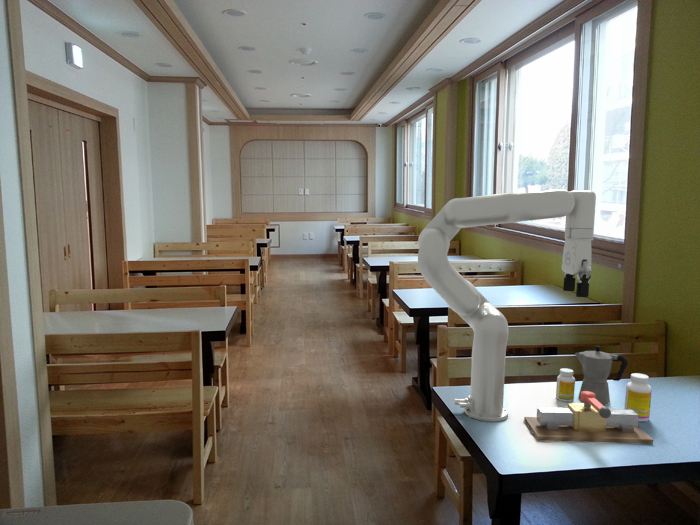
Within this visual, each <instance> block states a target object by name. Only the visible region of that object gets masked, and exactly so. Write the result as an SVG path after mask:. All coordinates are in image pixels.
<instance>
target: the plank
mask: <svg viewBox="0 0 700 525" xmlns="http://www.w3.org/2000/svg"><path fill="white" fill-rule="evenodd" d="M523 418H524V419H523V421H524V423H525V424H526V426H527V428H528V429H529V430H530V432H531V433H532V435H533V436H534V437H535V439H536V440H537V441H539V442H569V443H570V442H572V443H573V442H575V443H606V444H607V443H608V444H609V443H610V444H612V443H613V444H637V443H639V444H642V445H644V444H645V445H647V444H649V445H653V444H654V439H653V438H652V437H651V436H650V435H649V434H647V433H646V432H645V430H643V429H642V428H640V426H639V425H638V426H637V428H635V427H634V433H633V434H632V433H621V432H620V431H619V430H618V429H617V428H616V427H606V431H603V433H586V432H578V431H577V430H573V428H572V427H571V426H562V425H559V430H558V431H547V430H546V429H545V428H544V426H543V425H540V424H539V422H538V421H537V416H524V417H523Z"/></svg>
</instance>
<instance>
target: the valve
mask: <svg viewBox="0 0 700 525" xmlns="http://www.w3.org/2000/svg"><path fill="white" fill-rule="evenodd" d="M609 409H610V411H611V416H610V417H609V418H602V417H601V416H600V414H599V412H598V411H597V410H596V409H595V408H594V407H593V406H591V407H590V408H587V407H584V402H571V403H568V404H567V407H546V406H545V407H543V406H542V407H540V406H539V407H536V417H537V421H538V422H539V424H540V425H543V426H544V428H545V429H546V430H547V431H558V430H559V425H562V426H571V427H572V428H573V430H577V431H578V432H586V433H603V431H606V427H616V428H617V429H618V430H619V431H620V432H621V433H632V434H633V433H634V427H635V428H637V426H638V427H639V425H638V424H639V421H638V414H637V413H635V412H634V411H633V410H624V409H625V408H622V409H618V408H617V409H616V408H612V409H611V408H609Z"/></svg>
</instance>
